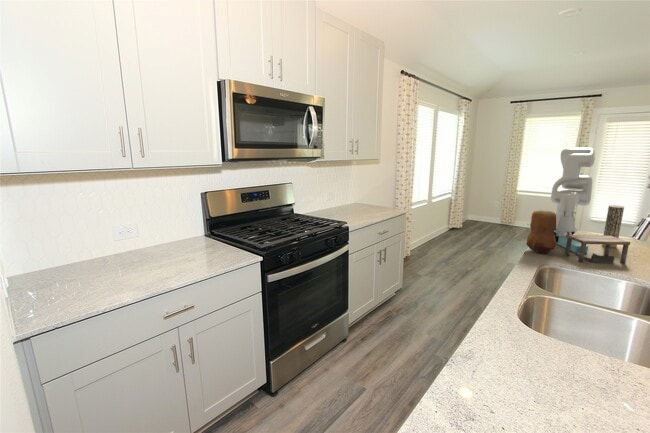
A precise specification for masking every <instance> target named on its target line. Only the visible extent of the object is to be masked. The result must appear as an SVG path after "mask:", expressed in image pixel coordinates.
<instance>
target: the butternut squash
mask: <svg viewBox="0 0 650 433" xmlns="http://www.w3.org/2000/svg"><path fill="white" fill-rule="evenodd" d="M530 217H531V219H530V231H529V234H528V236H527V238H526V246H527V247H528V248H529V250H530V251H534V252H536V253H538V254H544V255H545V254H547V253H548V254H549V253H550V252H552V251H554V250H555V249H556V245H557V244H556V239H555V236H554V231H555V227H556V212H554V211H553V210H550V209H549V210H548V209H547V210H545V209H540V208H539V209H538V208H537V209H535V210H534V211H533V212H532V214H531V216H530Z"/></svg>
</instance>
